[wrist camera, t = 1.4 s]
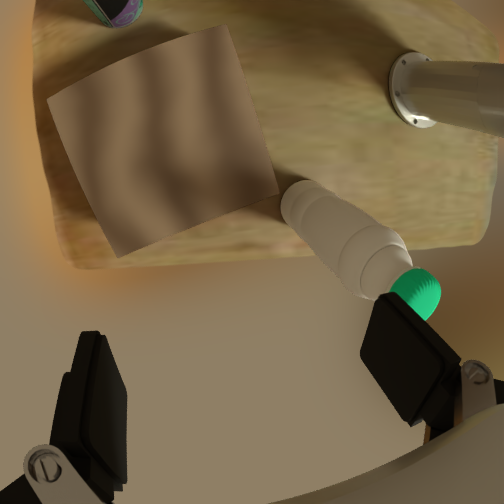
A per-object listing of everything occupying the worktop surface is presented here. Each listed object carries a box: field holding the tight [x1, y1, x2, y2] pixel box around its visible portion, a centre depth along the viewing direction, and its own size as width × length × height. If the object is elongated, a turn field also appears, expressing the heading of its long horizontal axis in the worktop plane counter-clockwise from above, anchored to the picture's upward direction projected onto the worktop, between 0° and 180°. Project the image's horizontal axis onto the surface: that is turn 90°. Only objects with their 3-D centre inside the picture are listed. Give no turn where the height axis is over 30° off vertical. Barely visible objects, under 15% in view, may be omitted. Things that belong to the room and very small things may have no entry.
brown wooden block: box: [46, 24, 280, 258], centre depth 30 cm, size 19×19×8 cm
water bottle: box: [280, 180, 441, 320], centre depth 31 cm, size 7×7×25 cm
